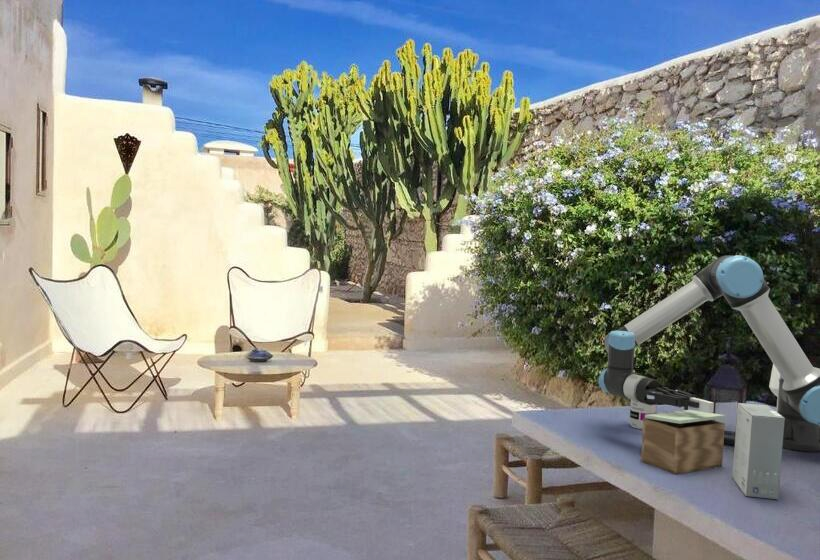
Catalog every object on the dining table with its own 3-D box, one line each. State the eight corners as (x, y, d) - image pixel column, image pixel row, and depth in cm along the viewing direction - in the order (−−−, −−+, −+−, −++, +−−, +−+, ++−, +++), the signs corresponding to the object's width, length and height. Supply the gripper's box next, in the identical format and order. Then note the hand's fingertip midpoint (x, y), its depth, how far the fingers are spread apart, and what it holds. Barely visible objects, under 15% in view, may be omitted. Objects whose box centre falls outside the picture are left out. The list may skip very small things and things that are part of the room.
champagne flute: (768, 421, 259) (773, 353, 258) (790, 425, 255) (795, 355, 254) (764, 425, 254) (769, 355, 252) (786, 428, 250) (791, 357, 248)
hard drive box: (779, 500, 178) (785, 418, 177) (745, 497, 179) (751, 415, 178) (762, 480, 193) (768, 404, 192) (731, 477, 195) (736, 401, 193)
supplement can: (658, 426, 246) (661, 381, 245) (651, 431, 239) (654, 385, 238) (633, 422, 250) (636, 378, 249) (626, 427, 243) (628, 381, 242)
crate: (685, 454, 214) (688, 413, 213) (721, 466, 204) (724, 423, 203) (640, 461, 205) (642, 418, 205) (675, 474, 195) (678, 429, 194)
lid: (689, 412, 213) (689, 409, 213) (725, 418, 202) (725, 415, 202) (644, 417, 204) (644, 414, 204) (679, 423, 194) (679, 420, 194)
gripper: (658, 401, 220) (727, 419, 199) (626, 404, 213) (693, 424, 193) (660, 375, 219) (729, 392, 199) (627, 378, 213) (695, 395, 192)
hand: (711, 407), depth 196 cm, fingers closed
